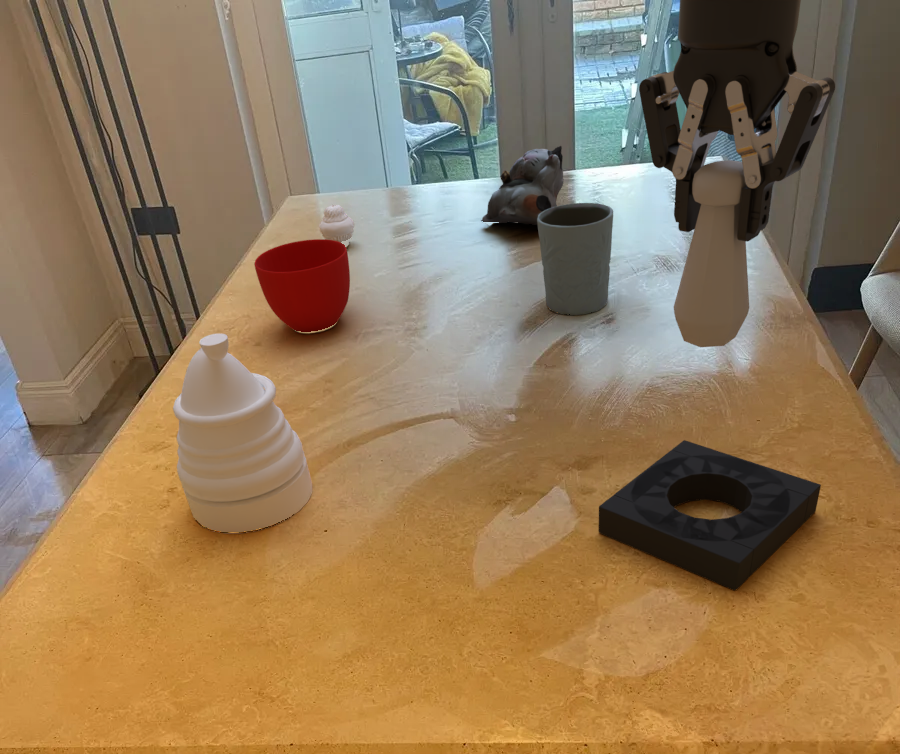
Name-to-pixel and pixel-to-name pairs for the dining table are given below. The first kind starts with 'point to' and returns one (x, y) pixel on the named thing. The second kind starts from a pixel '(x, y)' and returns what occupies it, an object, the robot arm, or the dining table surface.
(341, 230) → the muffin
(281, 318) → the ceramic cup
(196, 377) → the honey pot
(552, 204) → the lucky cat figurine
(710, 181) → the cream tapered peg
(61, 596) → the dining table surface
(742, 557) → the base pad
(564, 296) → the drinking glass
